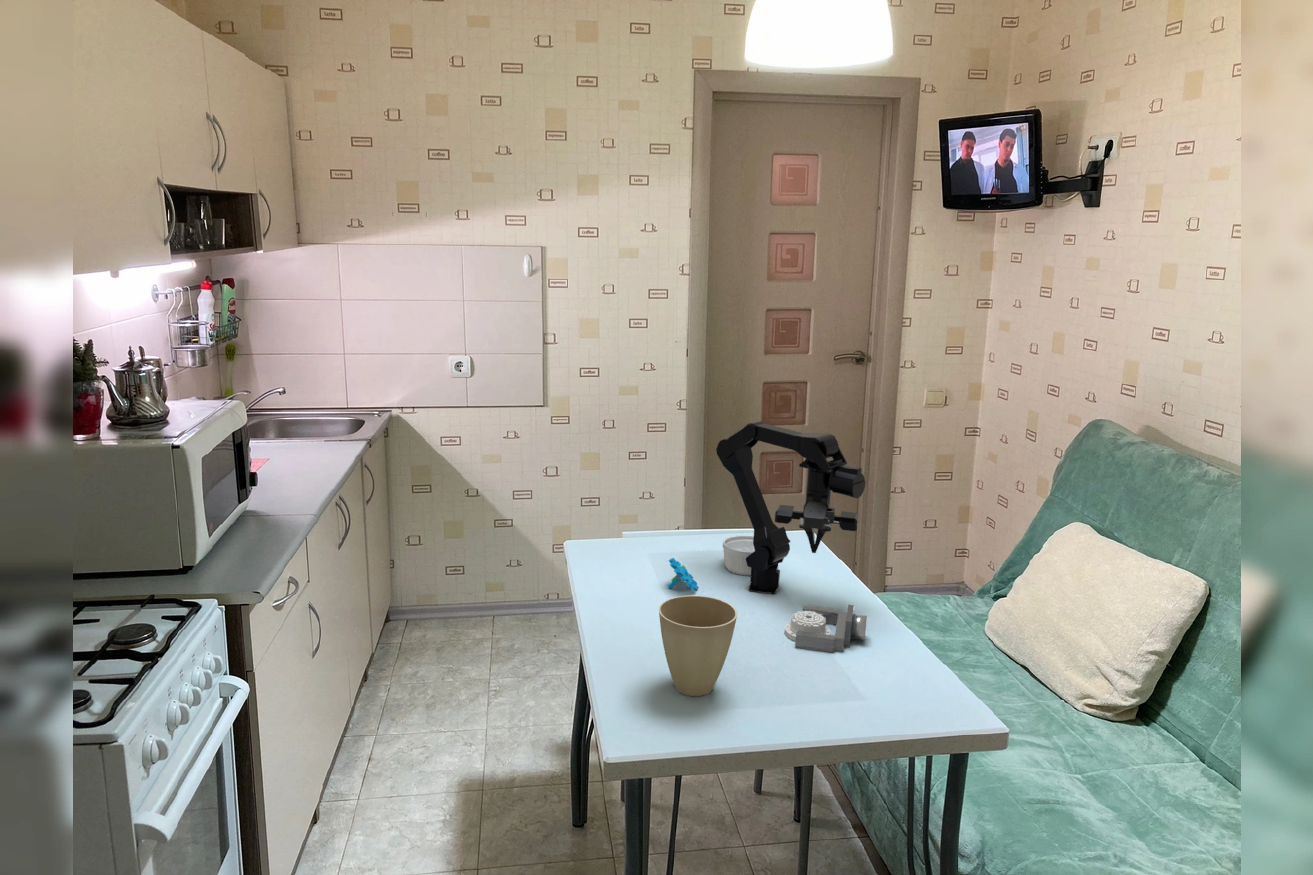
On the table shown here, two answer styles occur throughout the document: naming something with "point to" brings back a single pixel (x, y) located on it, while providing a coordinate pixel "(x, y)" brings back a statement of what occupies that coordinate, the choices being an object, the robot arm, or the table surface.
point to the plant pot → (696, 640)
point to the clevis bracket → (845, 630)
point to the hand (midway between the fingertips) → (813, 552)
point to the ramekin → (738, 553)
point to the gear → (681, 575)
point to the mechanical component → (806, 624)
